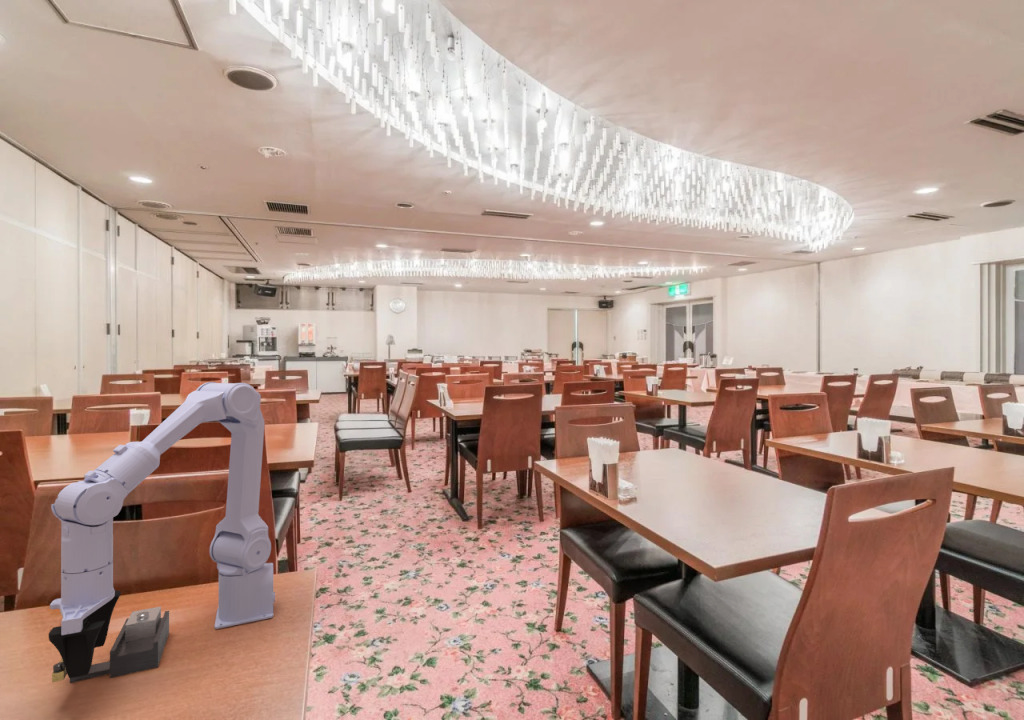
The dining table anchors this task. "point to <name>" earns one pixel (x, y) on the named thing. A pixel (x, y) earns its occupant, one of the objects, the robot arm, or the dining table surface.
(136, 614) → the knobbed drawer block
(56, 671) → the lever
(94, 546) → the robot arm
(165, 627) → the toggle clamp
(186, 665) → the dining table surface
